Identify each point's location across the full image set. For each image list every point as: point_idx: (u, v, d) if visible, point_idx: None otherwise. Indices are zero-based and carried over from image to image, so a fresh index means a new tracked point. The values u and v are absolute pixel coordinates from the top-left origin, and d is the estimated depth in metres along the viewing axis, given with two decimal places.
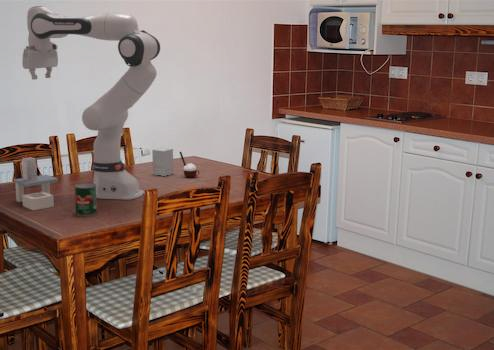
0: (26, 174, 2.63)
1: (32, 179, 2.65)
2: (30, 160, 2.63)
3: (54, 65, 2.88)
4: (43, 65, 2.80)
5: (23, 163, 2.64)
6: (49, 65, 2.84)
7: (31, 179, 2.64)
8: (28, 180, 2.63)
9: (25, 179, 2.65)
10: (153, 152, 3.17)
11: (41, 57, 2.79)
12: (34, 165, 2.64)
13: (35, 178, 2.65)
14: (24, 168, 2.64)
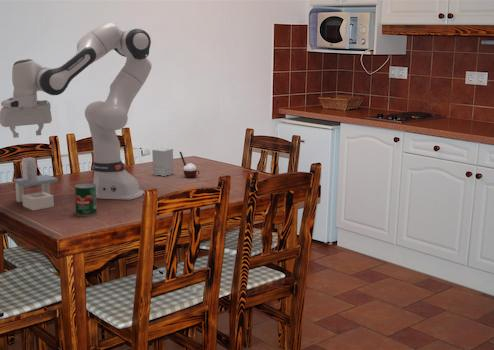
0: (26, 174, 2.63)
1: (32, 179, 2.65)
2: (30, 160, 2.63)
3: None
4: None
5: (23, 163, 2.64)
6: None
7: (31, 179, 2.64)
8: (28, 180, 2.63)
9: (25, 179, 2.65)
10: (153, 152, 3.17)
11: None
12: (34, 165, 2.64)
13: (35, 178, 2.65)
14: (24, 168, 2.64)
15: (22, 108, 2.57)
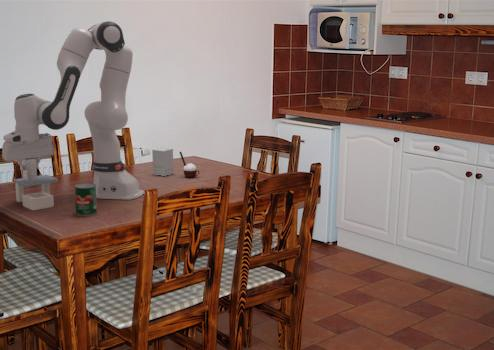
0: (26, 174, 2.63)
1: (32, 179, 2.65)
2: (30, 160, 2.63)
3: None
4: None
5: (23, 163, 2.64)
6: None
7: (31, 179, 2.64)
8: (28, 180, 2.63)
9: (25, 179, 2.65)
10: (153, 152, 3.17)
11: None
12: (34, 165, 2.64)
13: (35, 178, 2.65)
14: None
15: (24, 142, 2.60)
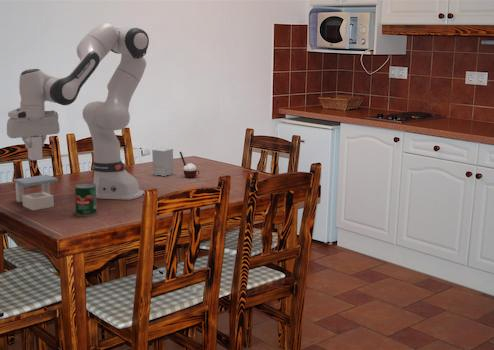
0: (31, 153, 2.55)
1: (37, 157, 2.56)
2: (35, 138, 2.54)
3: None
4: None
5: (28, 141, 2.55)
6: None
7: (36, 157, 2.56)
8: (33, 158, 2.55)
9: (30, 157, 2.56)
10: (153, 152, 3.17)
11: None
12: (40, 143, 2.56)
13: (41, 157, 2.57)
14: None
15: (29, 119, 2.51)
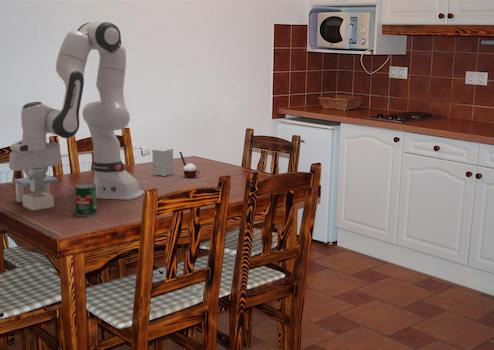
0: (33, 184, 2.58)
1: (39, 189, 2.59)
2: (37, 170, 2.57)
3: None
4: None
5: (30, 173, 2.58)
6: None
7: (38, 189, 2.58)
8: (35, 190, 2.58)
9: (32, 189, 2.59)
10: (153, 152, 3.17)
11: None
12: (41, 175, 2.58)
13: (43, 189, 2.60)
14: None
15: (31, 151, 2.54)
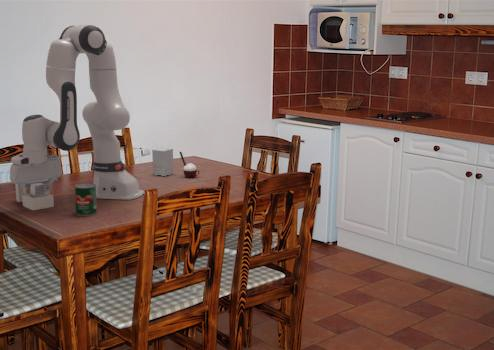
0: None
1: None
2: (38, 186, 2.58)
3: None
4: None
5: (31, 189, 2.59)
6: None
7: None
8: None
9: None
10: (153, 152, 3.17)
11: None
12: (42, 191, 2.60)
13: None
14: (32, 194, 2.59)
15: (32, 164, 2.55)
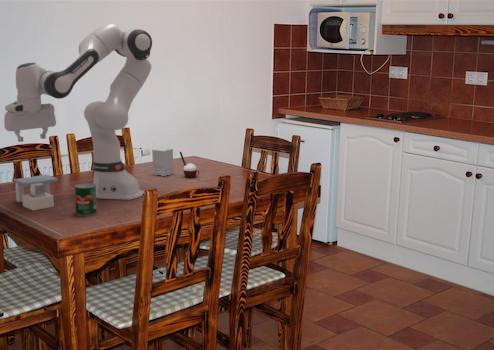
0: None
1: None
2: (38, 186, 2.58)
3: None
4: None
5: (31, 189, 2.59)
6: None
7: None
8: None
9: None
10: (153, 152, 3.17)
11: None
12: (42, 191, 2.60)
13: None
14: (32, 194, 2.59)
15: (26, 112, 2.56)
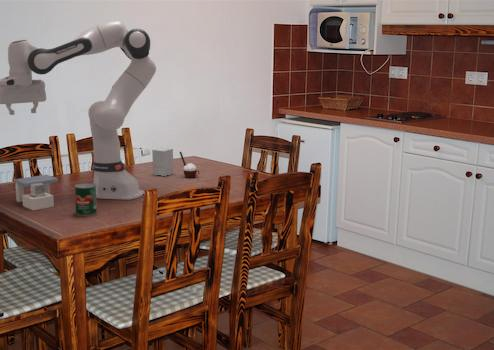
0: None
1: None
2: (38, 186, 2.58)
3: None
4: None
5: (31, 189, 2.59)
6: None
7: None
8: None
9: None
10: (153, 152, 3.17)
11: None
12: (42, 191, 2.60)
13: None
14: (32, 194, 2.59)
15: (18, 86, 2.69)
